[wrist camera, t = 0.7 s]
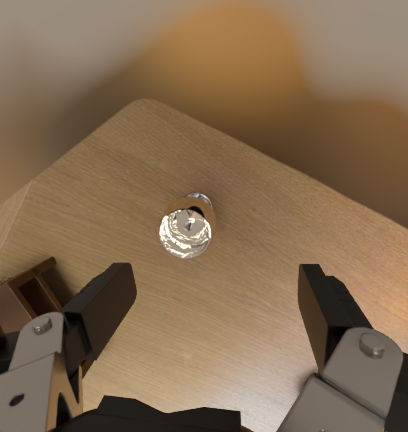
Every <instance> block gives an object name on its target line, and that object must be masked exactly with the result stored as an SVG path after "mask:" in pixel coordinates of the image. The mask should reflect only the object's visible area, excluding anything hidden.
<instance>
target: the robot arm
mask: <svg viewBox="0 0 408 432" xmlns="http://www.w3.org/2000/svg"><path fill="white" fill-rule="evenodd" d="M136 294H137V290H136V285H135V280H134V275H133V270H132V266H131V264H130V263H113V264H112V265H111V266H110V267H109V268H108V269H107V270H106V271H104V272H103V273H101V274H100V275H98V276H96V277H95V278H93V279H92V280H91V281H90V282H89V283H88V284H87V285H86V287H84V288H83V289H82V290H81V291H80V293H77V294H76V295H75V296H74V297H73V298H72V299H71V300H70V301H69V302H68V303H67V304H66V305H65V306H64V307H63V308H62V309H61V310H60V311H59V312H50V313H46V314H43V315H41V316H38V317H36V318H35V319H33V320H31V321H30V322H29V323H27V324H26V325H25V326H24V327H23V328H22V330H20V331H15V332H10V333H4V331H3V329H2V327H1V325H0V432H253V431H251V430H250V429H248V428H246V427H244V426H242V425H241V414H240V411H233V410H225V409H216V408H208V407H201V408H196V409H190V410H184V411H178V412H172V413H164V412H161V411H159V410H157V409H155V408H153V407H151V406H149V405H147V404H145V403H142V402H140V401H138V400H136V399H132V398H123V397H115V396H106V395H104V397H103V399H102V401H101V402H100V404H99V406H98V408H97V409H93V410H90V411H87V412H84V413H83V389H82V368H81V366H80V364H81V363H82V361H83V360H84V359H85V360H97V358H98V357H99V355H100V354H101V352H102V351H103V349H104V348H105V346H106V345H107V343H108V341H109V340H110V338H111V337H112V335H113V334H114V332H115V331H116V329H117V328H118V326H119V325H120V323H121V322H122V320H123V319H124V317H125V316H126V314H127V312H128V311H129V309H130V308H131V306H132V305H133V303H134V302H135V299H136ZM298 304H299V309H300V312H301V315H302V318H303V322H304V325H305V328H306V331H307V334H308V338H309V341H310V344H311V347H312V350H313V354H314V357H315V360H316V363H317V366H318V370H319V373H320V375H318V374H317V373H314V374H312V375H311V377H310V378H309V380H308V381H307V383H306V384H305V386H304V388H303V389H302V391H301V393H300V394H299V396H298V397H297V399H296V401H295V402H294V404H293V406H292V407H291V409H290V410H289V412H288V414H287V415H286V417H285V419H284V420H283V422H282V423H281V425H280V427H279V428H278V430H277V432H408V354H406V353H404V352H402V351H401V349H400V348H399V346H398V345H397V344H396V343H395V342H394V341H393V340H392V339H391V338H389V337H388V336H386V335H385V334H383V333H381V332H379V331H376V330H374V329H373V327H372V326H371V324H370V323H369V321H368V320H367V318H366V317H365V315H364V314H363V312H362V311H361V309H360V308H359V306H358V304H357V303H356V302H355V301H354V298H353V297H352V295H351V294H350V293H349V291H348V289H347V288H346V286H345V285H344V283H342V282H341V281H340V280H338V279H337V278H335V277H334V276H325V274H324V272H323V270H322V269H321V267H320V265H319V264H300V265H299V278H298Z"/></svg>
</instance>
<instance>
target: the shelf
mask: <svg viewBox="0 0 408 432" xmlns="http://www.w3.org/2000/svg"><path fill="white" fill-rule="evenodd" d="M55 264H56V261H55V260H54V258H53V257H51V258H49V259H47V260H45V261H43V262H42V263H40V264H38V265H36V266H34V267H33V268H31V269H29V270H27V271H25V272H23V273H21V274H19V275H17V276H15V277H13V278H11V279H9V280H7V281H5V282H3V283H1V284H0V325H1V327H2V329H3V331H4V333H10V332H15V331H20V330H22V328H23V327H24V326H25V325H26V324H27V323H29V322H30V321H31V320H33V319H35V318H36V317H38V316H41V315H43V314H46V313H50V312H59V311H60V310H61V309H62V308H63V307H62V306H61V305H60V303H59V302H58V300H57V299H56V297H55V296H54V294H53V293H52V291H51V290H50V288H49V287H48V285H47V284H46V282H45V281H44V279H43V278H42V277H41V275H40V274H41V273H42V272H44V271H45V270H47V269H49V268H50V267H52V266H53V265H55ZM93 362H94V360H85V359H84V360H83V361H82V363H81V364H80V366H81V368H82V379H83V378H84V376H85V375H86V373H87V371H88V370H89V368H90V367H91V365H92V363H93Z"/></svg>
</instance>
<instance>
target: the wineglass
mask: <svg viewBox="0 0 408 432" xmlns="http://www.w3.org/2000/svg"><path fill="white" fill-rule="evenodd" d="M216 231H217V218H216V215H215V212H214V210H213V207H212V203H211V201H210V200H209V198H208V197H207V196H205V195H204V194H201V193H192V194H189V195H188V196H186V197H181V198H179V199H176V200H175V201H173V202H172V203H170V204H169V205H168V207H167V208H166V209H165V210H164V212H163V215H162V217H161V220H160V225H159V236H160V240H161V243H162V245H163V246H164V248H165V249H166V250H167V251H168V252H169V253H171V254H172V255H174V256H176V257H179V258H193V257H196V256H198V255H199V254H201V253H202V252H204V251H205V250H206V249H207V248H208V247H209V246H210V244H211V243H212V241H213V239H214V238H215V235H216Z"/></svg>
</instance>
